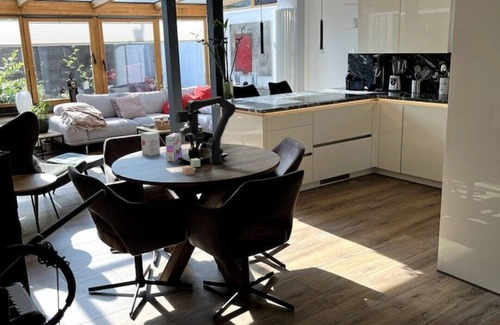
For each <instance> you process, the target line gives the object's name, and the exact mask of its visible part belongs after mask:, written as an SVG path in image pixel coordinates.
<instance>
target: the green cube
mask: <svg viewBox="0 0 500 325" xmlns="http://www.w3.org/2000/svg"><path fill="white" fill-rule="evenodd" d="M190 166H192V167H193V168H198V167H201V159H199V158H197V157H195V158H190Z"/></svg>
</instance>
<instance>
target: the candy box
mask: <svg viewBox="0 0 500 325" xmlns="http://www.w3.org/2000/svg"><path fill="white" fill-rule="evenodd" d="M164 139H165V153H166V154H165V155H166V156H165V157H166V162H173V163H174V162H177V161H178V157H180V156H182V157H183V153H182V151H183V150H182V149H183V148H182V135H181V132H178V133H177V132H176V133H175V132H174V133H171V134H169V135H166V136H165V138H164Z"/></svg>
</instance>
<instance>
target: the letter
mask: <svg viewBox="0 0 500 325" xmlns="http://www.w3.org/2000/svg"><path fill="white" fill-rule="evenodd" d="M185 166H186V165H184V166H175V167H169V168H167V167H166V168H165V169H166V170H167V171H168V172H170V173H171V174H172V173H173V174H174V173H179V172H182V167H185Z"/></svg>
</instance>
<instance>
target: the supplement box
mask: <svg viewBox="0 0 500 325" xmlns="http://www.w3.org/2000/svg"><path fill="white" fill-rule="evenodd" d="M140 138H141V155H145V156H150V157H151V156H155V155H160V154H161V148H160V147H161V146H160V145H161V144H160V133H159V132H158V131H151V130H150V131H145V132H141V133H140Z"/></svg>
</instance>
